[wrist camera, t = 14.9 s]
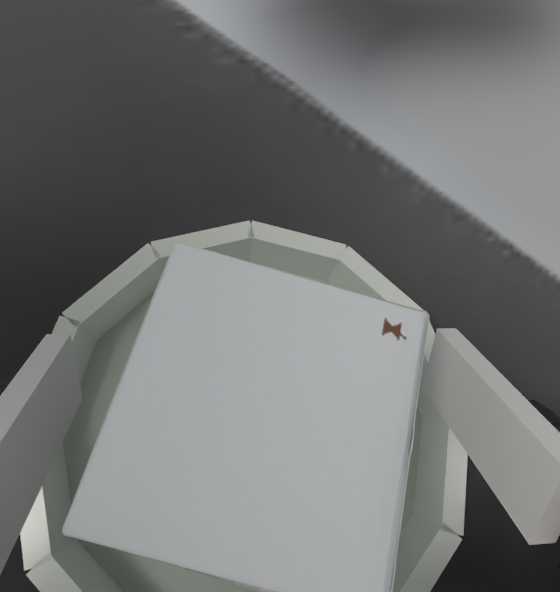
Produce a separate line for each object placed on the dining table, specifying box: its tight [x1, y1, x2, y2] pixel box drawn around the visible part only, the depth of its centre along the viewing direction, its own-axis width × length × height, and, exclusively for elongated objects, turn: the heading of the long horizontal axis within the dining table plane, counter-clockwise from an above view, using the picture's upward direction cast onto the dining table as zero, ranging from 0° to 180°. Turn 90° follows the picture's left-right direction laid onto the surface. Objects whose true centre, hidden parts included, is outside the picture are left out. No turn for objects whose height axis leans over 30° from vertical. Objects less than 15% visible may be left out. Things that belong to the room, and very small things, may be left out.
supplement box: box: [62, 243, 430, 592], centre depth 16 cm, size 7×7×13 cm
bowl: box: [20, 221, 468, 592], centre depth 21 cm, size 20×20×4 cm
